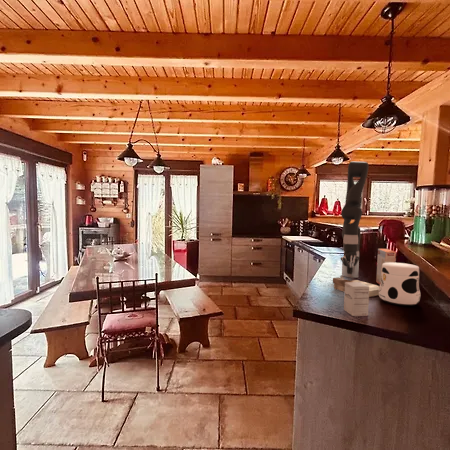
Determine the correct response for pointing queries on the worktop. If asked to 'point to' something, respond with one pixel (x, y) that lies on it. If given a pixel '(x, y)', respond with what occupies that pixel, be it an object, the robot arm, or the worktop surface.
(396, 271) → the milk container
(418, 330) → the worktop surface
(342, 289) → the seat panel
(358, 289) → the supplement box
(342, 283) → the walnut leg
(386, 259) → the cracker box
